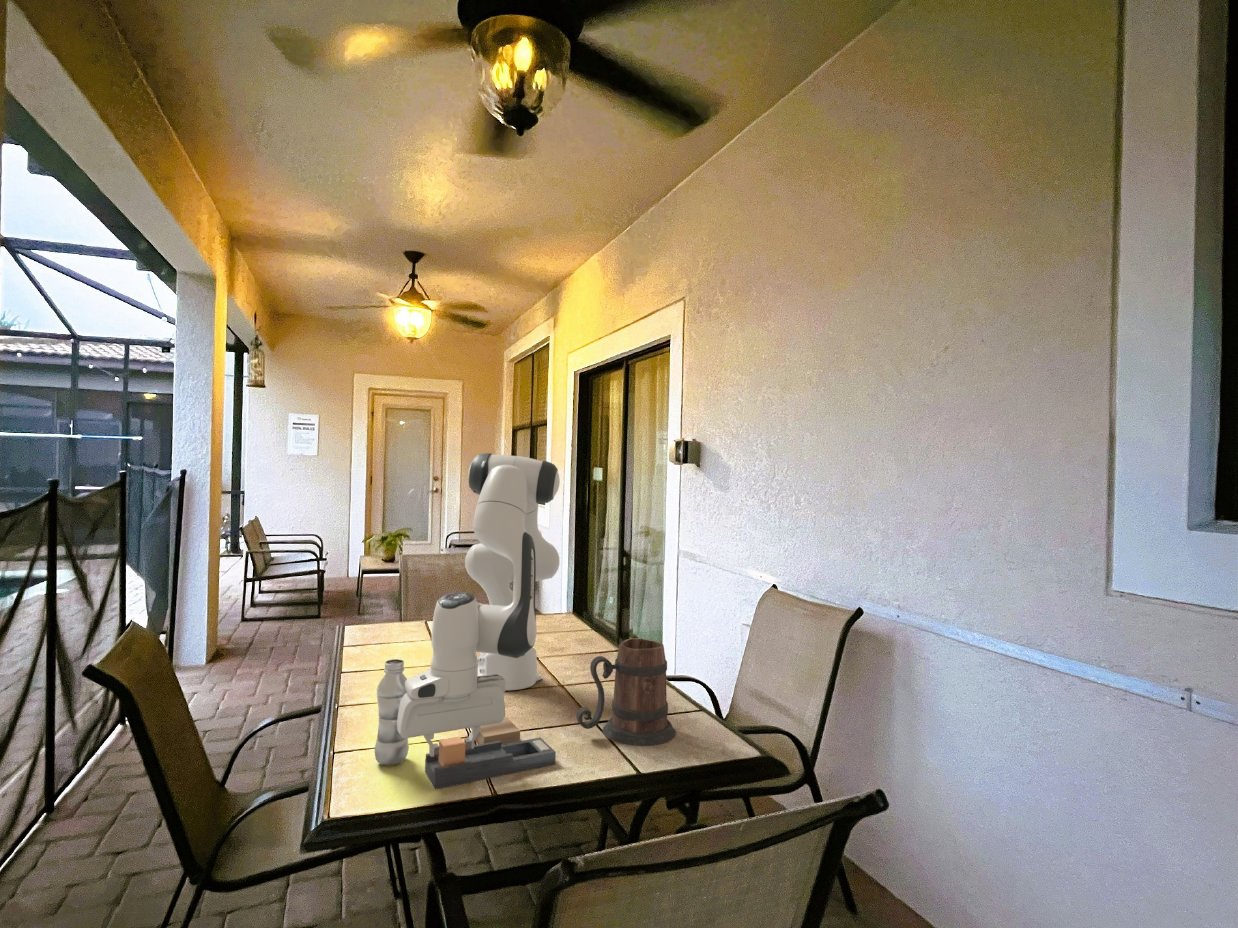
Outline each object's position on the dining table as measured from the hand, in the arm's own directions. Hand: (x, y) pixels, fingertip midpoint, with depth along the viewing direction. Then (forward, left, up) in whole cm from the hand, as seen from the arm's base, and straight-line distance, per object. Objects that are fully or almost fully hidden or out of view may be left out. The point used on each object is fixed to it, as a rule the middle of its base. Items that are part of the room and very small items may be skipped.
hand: (451, 751), depth 126 cm
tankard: (-4, +41, -5) cm, 41 cm away
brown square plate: (-12, +13, -5) cm, 18 cm away
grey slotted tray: (0, +8, -5) cm, 9 cm away
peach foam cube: (0, 0, -2) cm, 2 cm away
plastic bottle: (-11, -9, -5) cm, 15 cm away
